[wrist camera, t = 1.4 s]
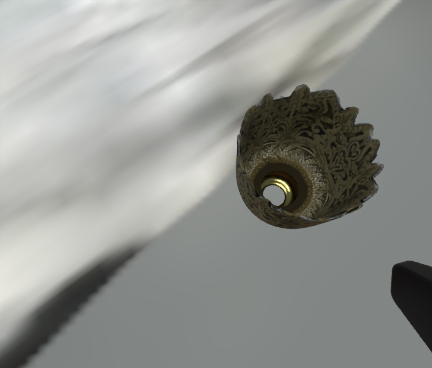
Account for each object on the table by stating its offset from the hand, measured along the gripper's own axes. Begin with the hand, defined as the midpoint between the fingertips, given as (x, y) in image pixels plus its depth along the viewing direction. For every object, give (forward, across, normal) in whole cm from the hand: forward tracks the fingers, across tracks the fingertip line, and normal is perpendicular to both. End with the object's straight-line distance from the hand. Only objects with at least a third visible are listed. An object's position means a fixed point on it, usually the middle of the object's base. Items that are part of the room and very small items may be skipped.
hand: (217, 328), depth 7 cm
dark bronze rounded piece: (+15, -7, +4) cm, 17 cm away
